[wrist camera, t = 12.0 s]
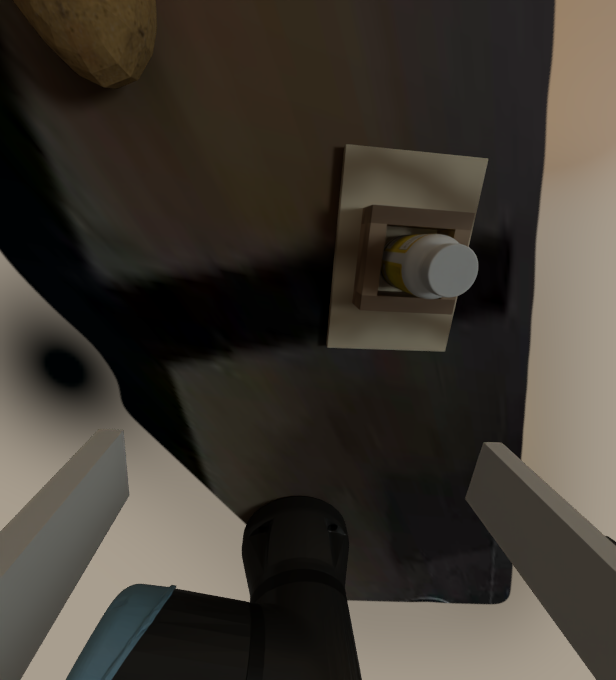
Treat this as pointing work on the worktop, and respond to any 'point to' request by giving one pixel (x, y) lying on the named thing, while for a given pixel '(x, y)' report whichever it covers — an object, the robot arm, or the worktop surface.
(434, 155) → the collar board
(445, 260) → the supplement bottle
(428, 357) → the worktop surface
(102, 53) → the potato
